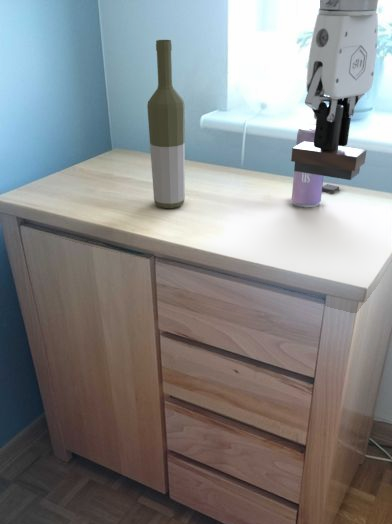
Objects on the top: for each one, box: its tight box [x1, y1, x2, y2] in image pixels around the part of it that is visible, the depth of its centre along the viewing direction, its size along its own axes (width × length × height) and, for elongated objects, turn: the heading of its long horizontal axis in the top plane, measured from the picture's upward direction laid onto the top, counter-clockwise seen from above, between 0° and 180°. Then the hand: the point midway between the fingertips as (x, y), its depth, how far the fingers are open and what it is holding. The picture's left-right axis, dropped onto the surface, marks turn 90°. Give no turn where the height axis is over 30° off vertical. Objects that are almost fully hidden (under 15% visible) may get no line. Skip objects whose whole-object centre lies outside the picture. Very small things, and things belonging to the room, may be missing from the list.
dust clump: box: [322, 183, 340, 194], centre depth 122 cm, size 3×3×1 cm
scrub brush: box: [290, 104, 368, 181], centre depth 83 cm, size 10×5×10 cm, turn 58°
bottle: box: [147, 39, 186, 209], centre depth 108 cm, size 7×7×30 cm
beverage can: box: [291, 123, 325, 208], centre depth 112 cm, size 6×6×15 cm
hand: (330, 145), depth 83 cm, fingers closed on scrub brush, 2 cm apart
